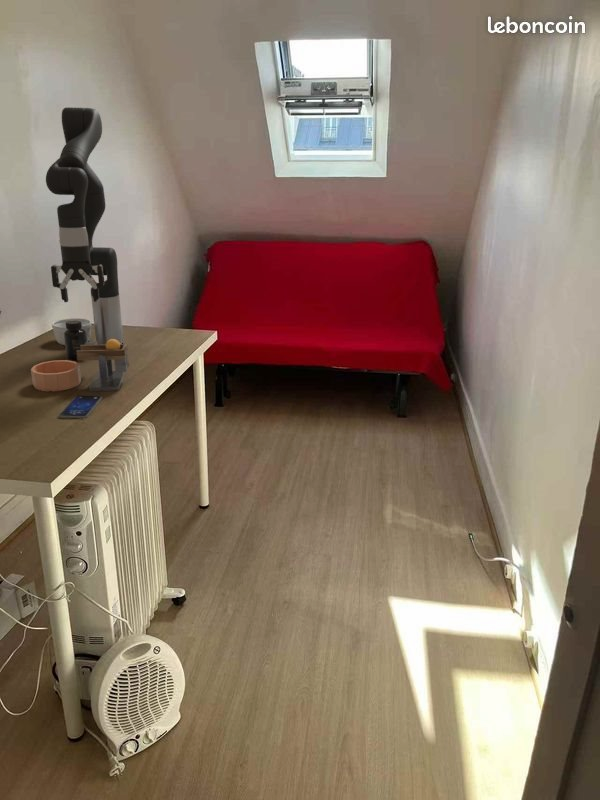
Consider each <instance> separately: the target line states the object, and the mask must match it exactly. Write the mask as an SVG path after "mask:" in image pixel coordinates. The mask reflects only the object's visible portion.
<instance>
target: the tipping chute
mask: <svg viewBox="0 0 600 800" xmlns="http://www.w3.org/2000/svg"><path fill="white" fill-rule="evenodd" d="M80 348H81V350H77V360H76V361H98V355H106V360H112V361H114V369H115V371H116V372H125V373H127V371H128V368H129V366H130V365H129V364H130V363H129V355H128V353H129V350H128V344H127V343H123V344H120V349H119V350H107V349H106V344H101V345H97V342H96V341H89V342H86V343H85V344H84V345H80Z"/></svg>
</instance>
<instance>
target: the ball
mask: <svg viewBox="0 0 600 800" xmlns="http://www.w3.org/2000/svg"><path fill="white" fill-rule="evenodd" d="M106 349H107V350H119V349H120V343H119V342H118V341H117V340H116V339H110V340H108V341H107V343H106Z"/></svg>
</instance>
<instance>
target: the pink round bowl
mask: <svg viewBox="0 0 600 800" xmlns="http://www.w3.org/2000/svg"><path fill="white" fill-rule="evenodd" d="M30 375H31V379H32V380H31V381H32V385H33V387H34V389H35V390H38V391H40V390H41V391H42V392H49V391H52V392H62V390H63V391H67V390H70V389H73V388H75V387H78V386H79V385H80V384H81V380H82V375H81V368H80V364H79V363H78V362H76V361H75V360H69V359H68V360H67V359H65V360H62V359H61V360H60V359H59V360H49V361H43V362H40V363H38V364H35V365H33V367H31V369H30Z"/></svg>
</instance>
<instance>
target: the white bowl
mask: <svg viewBox="0 0 600 800" xmlns="http://www.w3.org/2000/svg"><path fill="white" fill-rule="evenodd" d="M68 321H81V324H82V328H81V329H83V330H85V332H86V337H87V342H88V341H89V342H90V340H91V337H92V320H90V319H87V318H81V317H79V318H78V317H75V318H74V317H73V318H63V319H58V320H55V321H53V322H52V323H51V327H52V330H53V334H54V337H55V340H56V343H58V344H59V345H61V346H65V340H64V332H65V331H66V330H67V329H66V322H68Z"/></svg>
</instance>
